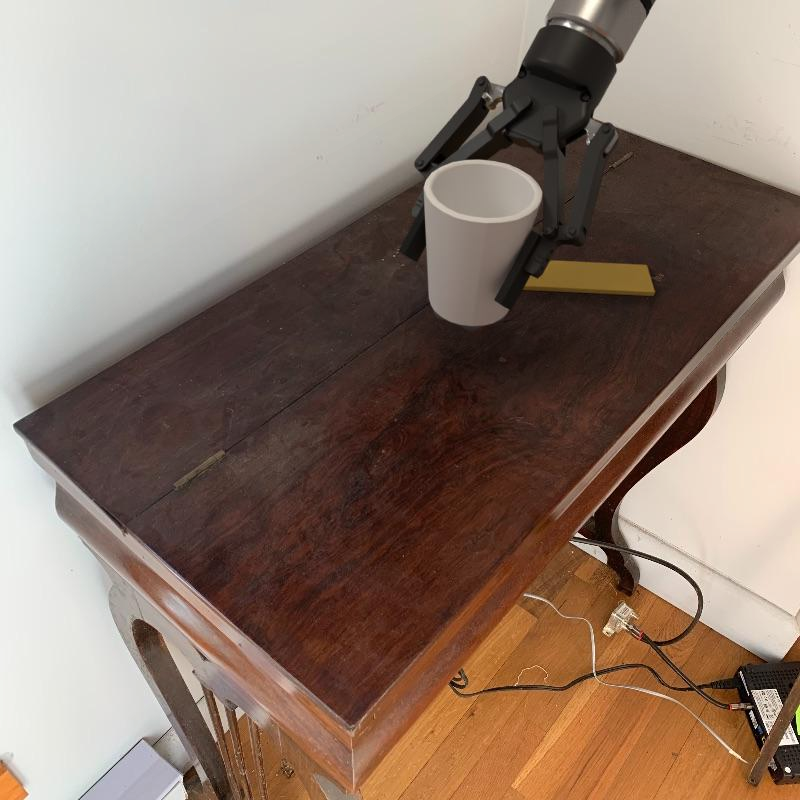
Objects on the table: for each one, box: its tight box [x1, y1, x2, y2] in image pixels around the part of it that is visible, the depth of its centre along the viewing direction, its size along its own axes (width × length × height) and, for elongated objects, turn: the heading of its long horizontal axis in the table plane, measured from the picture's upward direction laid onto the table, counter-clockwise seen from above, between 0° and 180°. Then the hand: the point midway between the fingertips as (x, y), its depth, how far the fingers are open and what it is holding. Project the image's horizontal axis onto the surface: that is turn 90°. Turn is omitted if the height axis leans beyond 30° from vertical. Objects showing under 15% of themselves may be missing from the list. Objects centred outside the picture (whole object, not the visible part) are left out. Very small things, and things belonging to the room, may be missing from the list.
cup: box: [423, 159, 543, 332], centre depth 71 cm, size 10×10×13 cm
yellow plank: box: [522, 259, 656, 297], centre depth 89 cm, size 22×5×1 cm, turn 88°
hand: (453, 280), depth 71 cm, fingers closed on cup, 10 cm apart
